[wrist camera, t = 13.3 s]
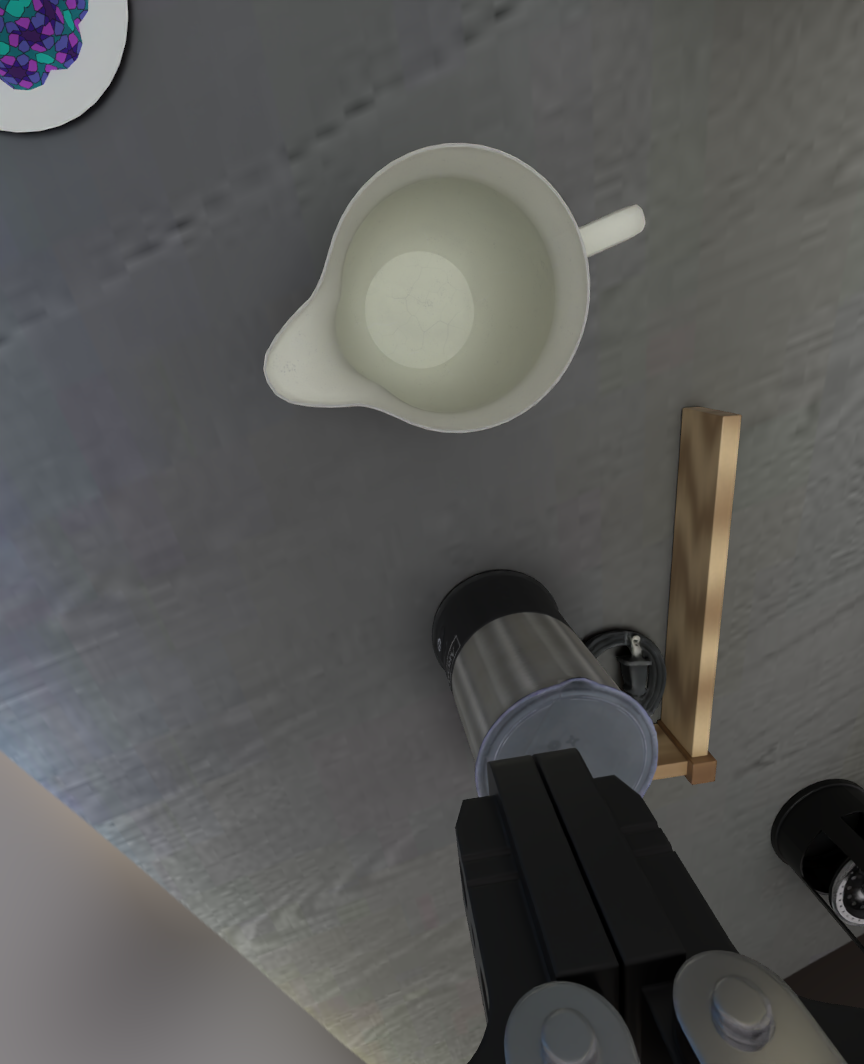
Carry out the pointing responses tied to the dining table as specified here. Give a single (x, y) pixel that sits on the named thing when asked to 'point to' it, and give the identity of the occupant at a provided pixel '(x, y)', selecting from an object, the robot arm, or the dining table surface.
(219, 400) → the dining table surface
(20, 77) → the pudding
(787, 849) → the french press
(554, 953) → the robot arm
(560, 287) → the pitcher
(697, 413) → the corner rail
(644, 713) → the milk frother
